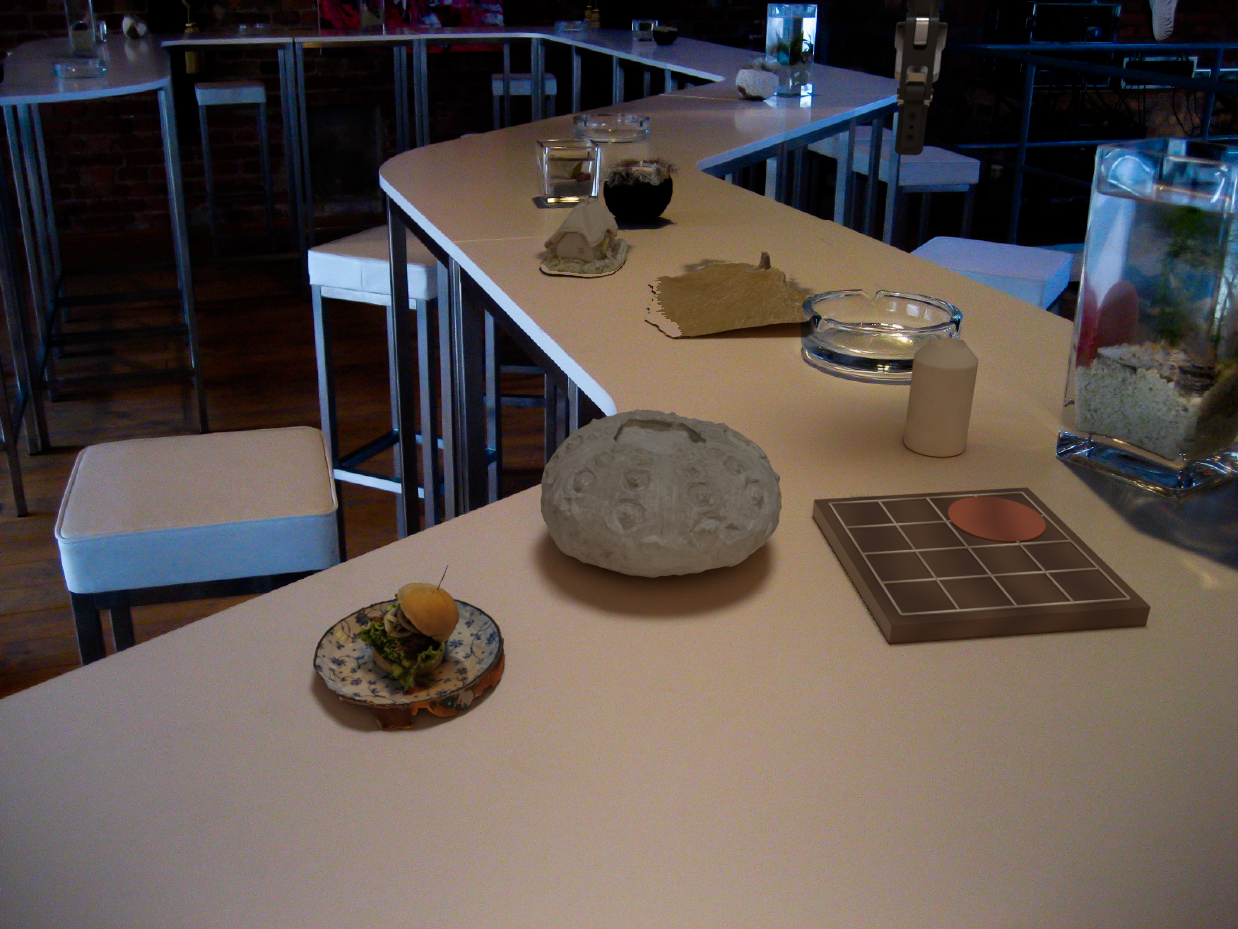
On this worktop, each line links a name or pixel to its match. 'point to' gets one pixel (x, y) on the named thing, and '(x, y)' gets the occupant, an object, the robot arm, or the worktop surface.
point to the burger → (412, 655)
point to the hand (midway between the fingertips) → (908, 145)
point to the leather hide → (729, 298)
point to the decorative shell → (659, 494)
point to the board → (973, 566)
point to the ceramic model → (586, 241)
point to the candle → (940, 398)
